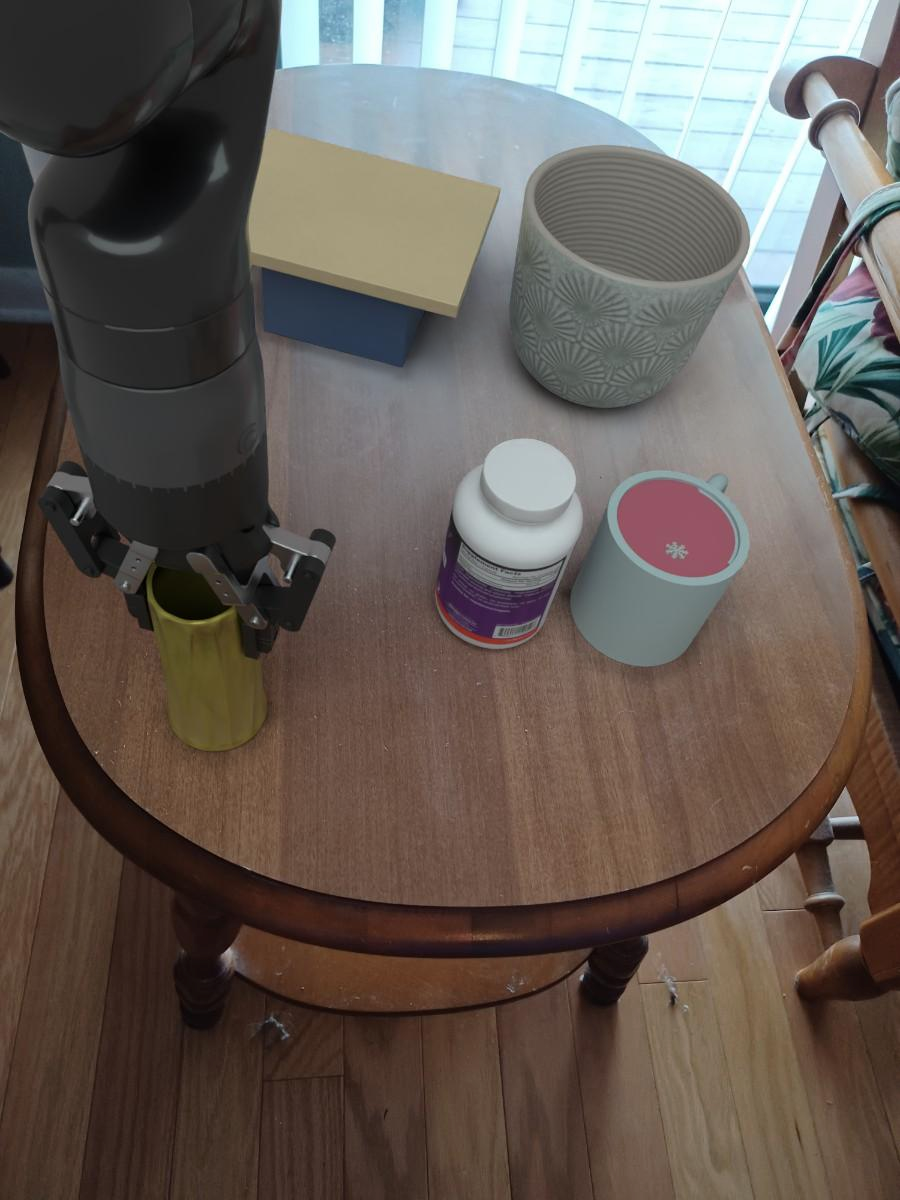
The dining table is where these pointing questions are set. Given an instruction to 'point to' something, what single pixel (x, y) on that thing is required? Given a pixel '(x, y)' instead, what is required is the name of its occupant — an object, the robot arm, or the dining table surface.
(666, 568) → the mug
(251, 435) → the robot arm
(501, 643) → the pill bottle
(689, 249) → the planter
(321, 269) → the box
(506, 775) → the dining table surface
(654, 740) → the dining table surface
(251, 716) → the vase
